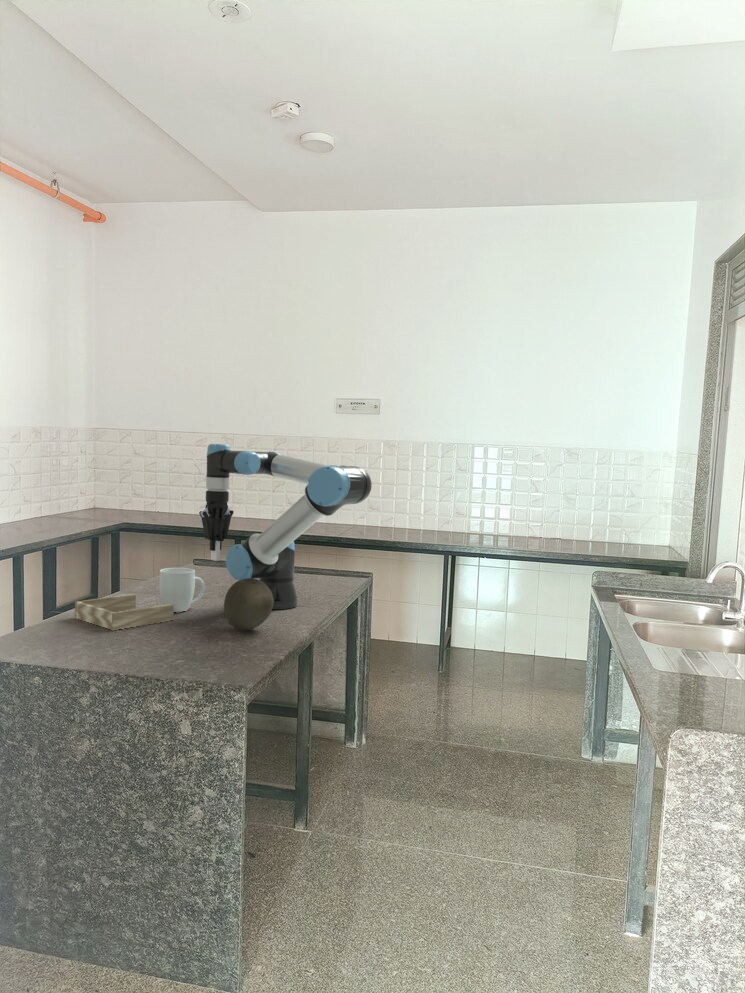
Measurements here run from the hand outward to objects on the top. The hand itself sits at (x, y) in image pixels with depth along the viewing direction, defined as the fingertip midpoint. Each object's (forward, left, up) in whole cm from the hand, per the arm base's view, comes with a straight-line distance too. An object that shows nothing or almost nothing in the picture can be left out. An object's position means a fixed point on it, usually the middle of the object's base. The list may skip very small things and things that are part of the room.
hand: (215, 560), depth 246 cm
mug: (0, +14, -15) cm, 21 cm away
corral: (0, +34, -15) cm, 37 cm away
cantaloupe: (-34, +15, -15) cm, 40 cm away
